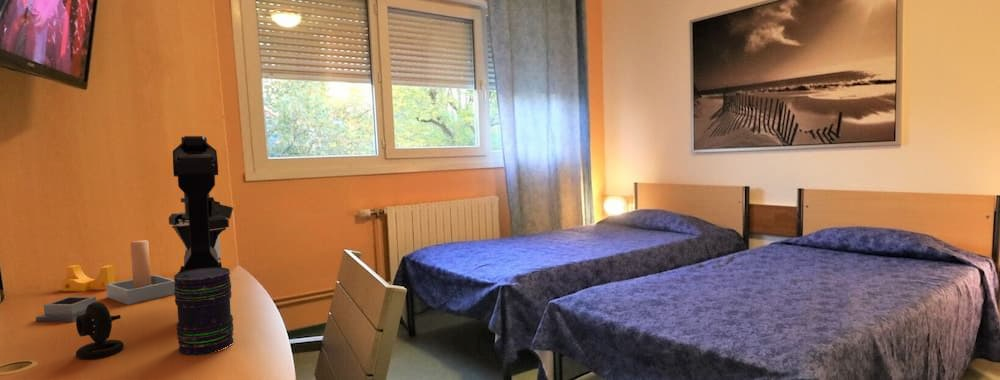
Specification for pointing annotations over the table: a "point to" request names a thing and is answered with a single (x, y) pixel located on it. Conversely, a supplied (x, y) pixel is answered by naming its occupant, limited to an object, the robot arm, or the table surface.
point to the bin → (140, 290)
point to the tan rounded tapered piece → (140, 263)
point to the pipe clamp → (87, 279)
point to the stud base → (65, 309)
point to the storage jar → (203, 310)
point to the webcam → (97, 332)
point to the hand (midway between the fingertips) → (200, 253)
